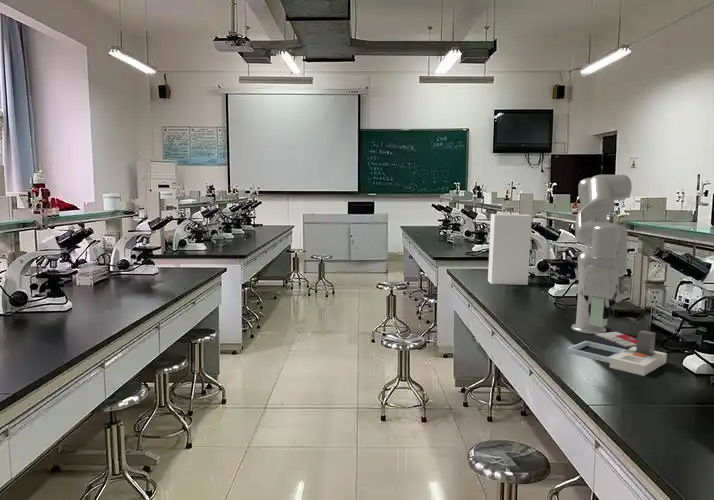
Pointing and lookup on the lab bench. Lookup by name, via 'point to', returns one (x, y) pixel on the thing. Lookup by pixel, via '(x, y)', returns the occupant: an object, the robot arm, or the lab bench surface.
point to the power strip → (637, 361)
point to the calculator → (615, 340)
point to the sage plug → (597, 312)
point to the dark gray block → (645, 343)
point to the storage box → (509, 249)
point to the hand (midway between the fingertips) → (598, 316)
